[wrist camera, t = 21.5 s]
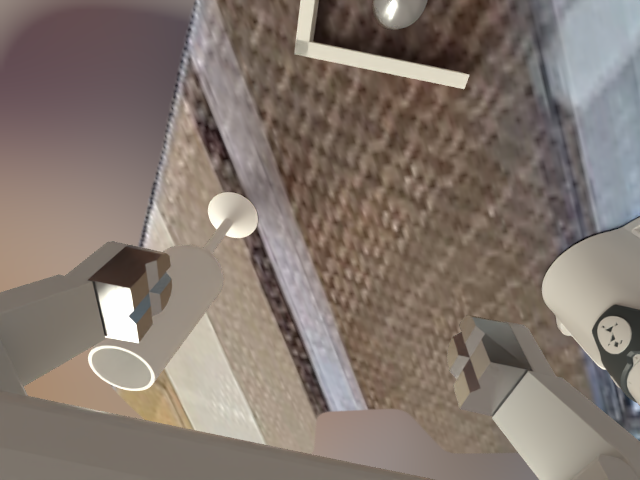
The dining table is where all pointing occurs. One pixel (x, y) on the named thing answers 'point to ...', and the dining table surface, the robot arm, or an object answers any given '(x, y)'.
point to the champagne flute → (176, 301)
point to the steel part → (397, 12)
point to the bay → (366, 54)
